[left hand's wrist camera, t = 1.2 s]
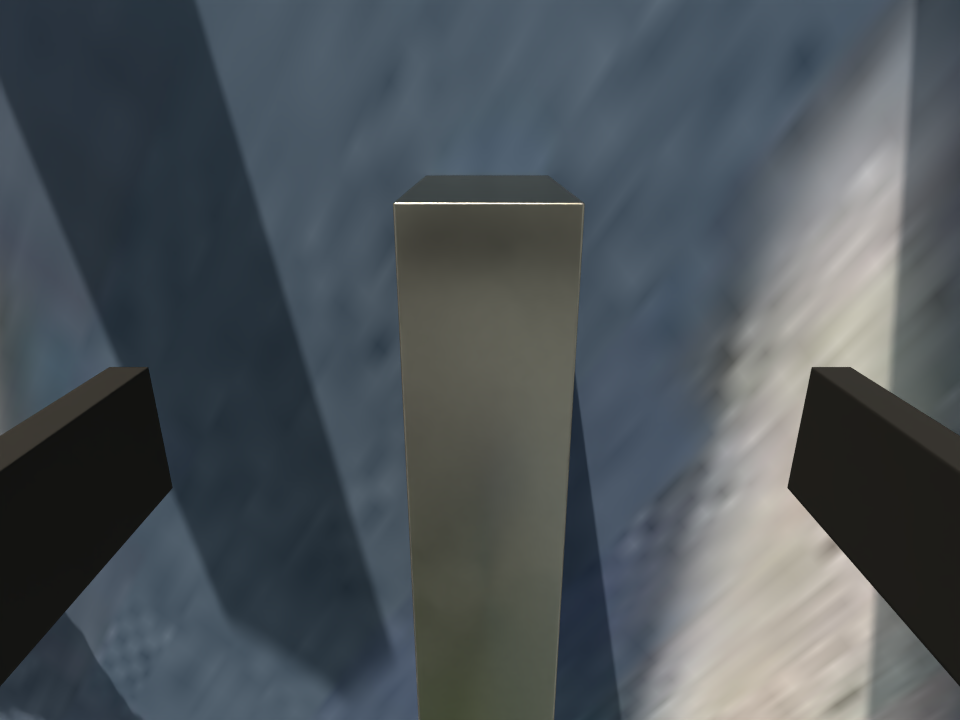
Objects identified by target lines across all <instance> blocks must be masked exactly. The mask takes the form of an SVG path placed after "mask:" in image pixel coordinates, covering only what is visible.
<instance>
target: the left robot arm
mask: <svg viewBox="0 0 960 720" xmlns="http://www.w3.org/2000/svg"><path fill="white" fill-rule="evenodd" d="M172 488H173V487H172V483H171V478H170V473H169V468H168V463H167V458H166V453H165V448H164V443H163V438H162V433H161V428H160V423H159V418H158V413H157V408H156V403H155V399H154V394H153V389H152V384H151V379H150V374H149V369H148V367H109V368H107V369H106V370H104V371H103V372H101V373H99V374H98V375H96V376H95V377H93V378H92V379H90V380H88V381H87V382H85V383H84V384H82V385H80V386H79V387H77V388H76V389H74V390H72V391H71V392H69V393H68V394H66V395H65V396H63V397H61V398H60V399H58V400H57V401H55V402H53V403H52V404H50V405H49V406H47V407H45V408H44V409H42V410H41V411H39V412H38V413H36V414H34V415H33V416H31V417H30V418H28V419H26V420H25V421H23V422H22V423H20V424H19V425H17V426H15V427H14V428H12V429H11V430H9V431H7V432H6V433H4V434H3V435H1V436H0V686H1V685H2V684H3V682H4V681H5V680H6V679H7V678H8V677H9V676H10V674H11V673H12V672H13V671H14V670H15V669H16V668H17V666H18V665H19V664H20V663H21V662H22V661H23V659H24V658H25V657H26V656H27V655H28V654H29V653H30V651H31V650H32V649H33V648H34V647H35V646H36V644H37V643H38V642H39V641H40V640H41V639H42V638H43V636H44V635H45V634H46V633H47V632H48V631H49V630H50V628H51V627H52V626H53V625H54V624H55V623H56V621H57V620H58V619H59V618H60V617H61V616H62V615H63V613H64V612H65V611H66V610H67V609H68V608H69V606H70V605H71V604H72V603H73V602H74V601H75V600H76V598H77V597H78V596H79V595H80V594H81V593H82V592H83V590H84V589H85V588H86V587H87V586H88V585H89V583H90V582H91V581H92V580H93V579H94V578H95V577H96V575H97V574H98V573H99V572H100V571H101V570H102V568H103V567H104V566H105V565H106V564H107V563H108V562H109V560H110V559H111V558H112V557H113V556H114V555H115V554H116V552H117V551H118V550H119V549H120V548H121V547H122V545H123V544H124V543H125V542H126V541H127V540H128V539H129V537H130V536H131V535H132V534H133V533H134V532H135V530H136V529H137V528H138V527H139V526H140V525H141V524H142V522H143V521H144V520H145V519H146V518H147V517H148V516H149V514H150V513H151V512H152V511H153V510H154V509H155V507H156V506H157V505H158V504H159V503H160V502H161V501H162V499H163V498H164V497H165V496H166V495H167V494H168V492H169V491H170V490H171V489H172ZM787 488H788V489H789V490H790V491H791V492H792V494H793V495H794V496H795V497H796V498H797V499H798V501H799V502H800V503H801V504H802V505H803V506H804V507H805V509H806V510H807V511H808V512H809V513H810V514H811V516H812V517H813V518H814V519H815V520H816V521H817V522H818V524H819V525H820V526H821V527H822V528H823V529H824V530H825V532H826V533H827V534H828V535H829V536H830V537H831V539H832V540H833V541H834V542H835V543H836V544H837V545H838V547H839V548H840V549H841V550H842V551H843V552H844V554H845V555H846V556H847V557H848V558H849V559H850V560H851V562H852V563H853V564H854V565H855V566H856V567H857V568H858V570H859V571H860V572H861V573H862V574H863V575H864V577H865V578H866V579H867V580H868V581H869V582H870V583H871V585H872V586H873V587H874V588H875V589H876V590H877V592H878V593H879V594H880V595H881V596H882V597H883V598H884V600H885V601H886V602H887V603H888V604H889V605H890V606H891V608H892V609H893V610H894V611H895V612H896V613H897V615H898V616H899V617H900V618H901V619H902V620H903V621H904V623H905V624H906V625H907V626H908V627H909V628H910V630H911V631H912V632H913V633H914V634H915V635H916V636H917V638H918V639H919V640H920V641H921V642H922V643H923V644H924V646H925V647H926V648H927V649H928V650H929V651H930V653H931V654H932V655H933V656H934V657H935V658H936V659H937V661H938V662H939V663H940V664H941V665H942V666H943V668H944V669H945V670H946V671H947V672H948V673H949V674H950V676H951V677H952V678H953V679H954V680H955V681H956V682H957V684H958V685H959V686H960V436H959V435H957V434H956V433H954V432H953V431H951V430H949V429H948V428H946V427H945V426H943V425H941V424H940V423H938V422H937V421H935V420H934V419H932V418H930V417H929V416H927V415H926V414H924V413H922V412H921V411H919V410H918V409H916V408H915V407H913V406H911V405H910V404H908V403H907V402H905V401H903V400H902V399H900V398H899V397H897V396H895V395H894V394H892V393H891V392H889V391H888V390H886V389H884V388H883V387H881V386H880V385H878V384H876V383H875V382H873V381H872V380H870V379H868V378H867V377H865V376H864V375H862V374H861V373H859V372H857V371H856V370H854V369H853V368H851V367H812V369H811V374H810V379H809V384H808V389H807V394H806V399H805V403H804V408H803V413H802V418H801V423H800V428H799V433H798V438H797V443H796V448H795V453H794V458H793V463H792V468H791V473H790V478H789V483H788V487H787Z"/></svg>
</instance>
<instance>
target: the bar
mask: <svg viewBox="0 0 960 720" xmlns="http://www.w3.org/2000/svg"><path fill="white" fill-rule="evenodd" d="M584 207H585V205H584V203H583V202H582V201H581V200H579V199H578V198H577V197H575V196H574V195H573V194H572V193H570V192H569V191H568V190H566V189H565V188H564V187H562V186H561V185H560V184H558V183H557V182H556V181H554V180H553V179H552V178H551V177H549V176H425V177H424V178H423V179H421V180H420V181H419V182H418V183H417V184H416V185H414V186H413V187H412V188H411V189H410V190H408V191H407V192H406V193H405V194H404V195H402V196H401V197H400V198H399V199H398V200H397V201H395V202H394V204H393V213H394V233H395V253H396V273H397V293H398V314H399V334H400V354H401V374H402V394H403V414H404V435H405V455H406V475H407V495H408V515H409V535H410V556H411V576H412V596H413V616H414V636H415V656H416V677H417V697H418V717H419V720H554V709H555V693H556V676H557V659H558V642H559V626H560V609H561V592H562V575H563V559H564V542H565V525H566V508H567V492H568V475H569V458H570V441H571V425H572V408H573V391H574V374H575V358H576V341H577V324H578V307H579V291H580V274H581V257H582V240H583V224H584Z"/></svg>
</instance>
